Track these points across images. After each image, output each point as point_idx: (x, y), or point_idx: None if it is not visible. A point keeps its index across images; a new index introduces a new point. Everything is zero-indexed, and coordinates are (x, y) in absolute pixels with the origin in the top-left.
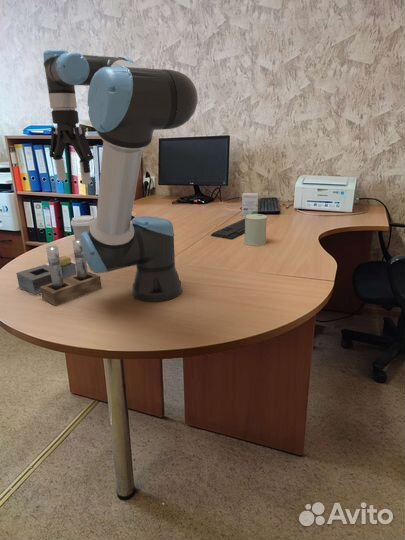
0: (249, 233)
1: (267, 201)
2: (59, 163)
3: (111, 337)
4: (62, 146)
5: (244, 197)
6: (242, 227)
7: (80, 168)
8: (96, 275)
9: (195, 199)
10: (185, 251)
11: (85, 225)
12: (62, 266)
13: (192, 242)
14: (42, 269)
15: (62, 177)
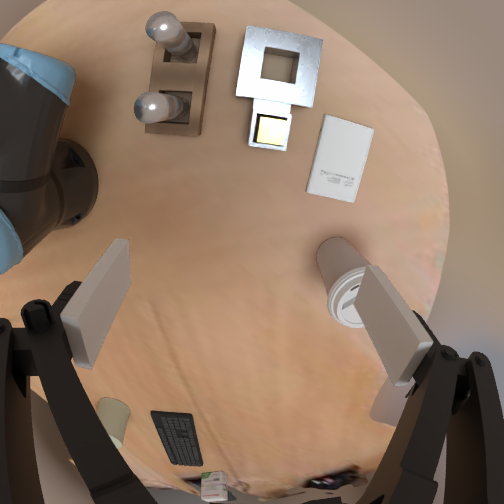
0: (107, 413)
1: (234, 499)
2: (399, 343)
3: (24, 41)
4: (389, 459)
5: (218, 494)
6: (171, 442)
7: (92, 289)
8: (155, 131)
9: (333, 482)
10: (166, 351)
11: (335, 282)
12: (260, 116)
13: (192, 386)
14: (293, 84)
15: (365, 294)
